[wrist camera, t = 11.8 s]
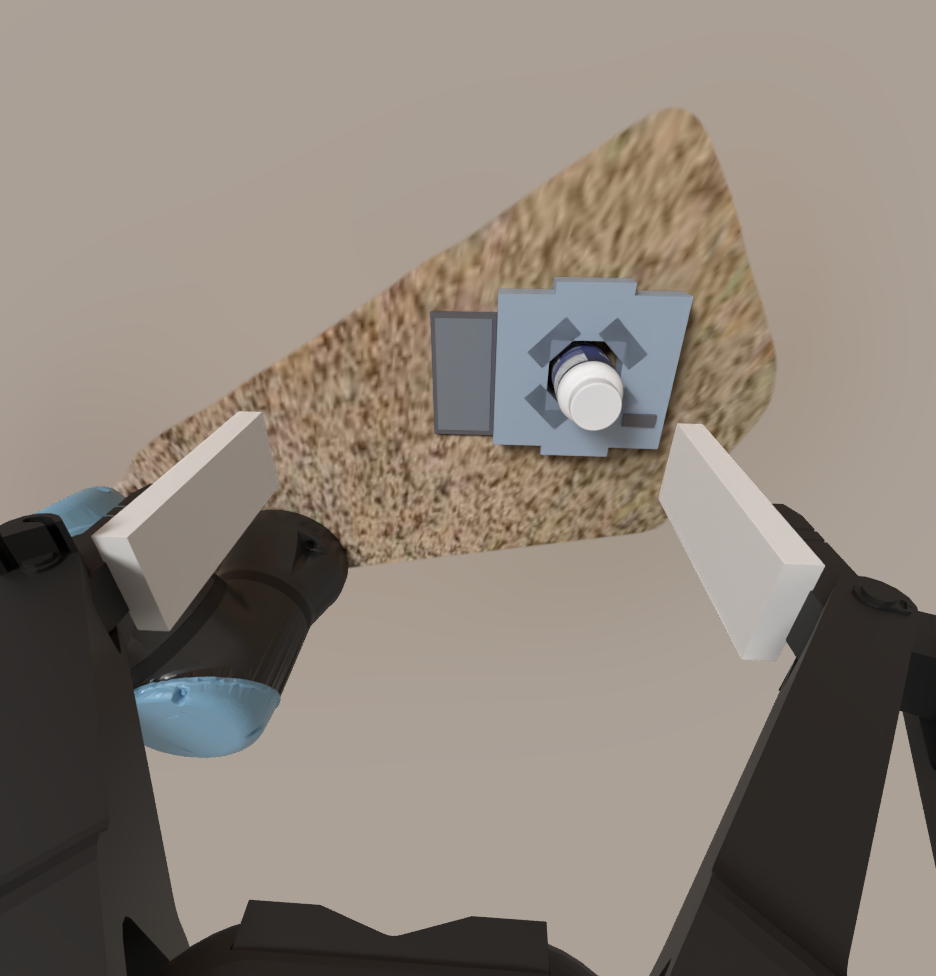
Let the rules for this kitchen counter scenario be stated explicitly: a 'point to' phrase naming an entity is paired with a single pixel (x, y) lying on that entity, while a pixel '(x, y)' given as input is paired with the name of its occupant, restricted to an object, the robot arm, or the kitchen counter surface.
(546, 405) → the dock
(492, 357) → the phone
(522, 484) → the kitchen counter surface
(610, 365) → the pill bottle
